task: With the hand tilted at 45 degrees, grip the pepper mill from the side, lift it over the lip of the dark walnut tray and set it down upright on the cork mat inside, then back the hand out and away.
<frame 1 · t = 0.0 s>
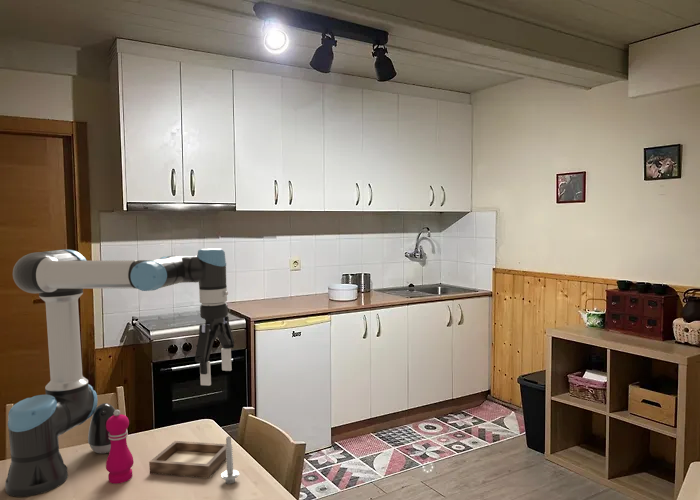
hand: (216, 377, 152), 28 cm above the table, tool pointing down, fingers open, 13 cm apart
screw: (230, 482, 149), on the table
pepper mill: (120, 479, 152), on the table
walnut tray: (191, 464, 160), on the table
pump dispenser: (106, 450, 171), on the table
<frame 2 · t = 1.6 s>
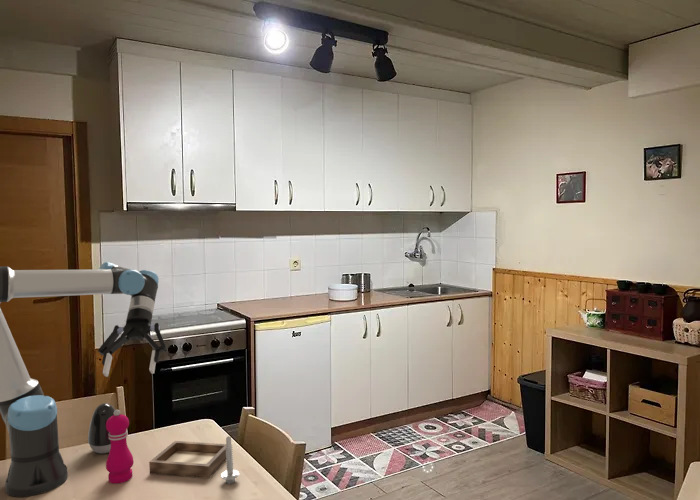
hand: (128, 373, 160), 27 cm above the table, tool tilted 45°, fingers open, 13 cm apart
nothing on the table moved.
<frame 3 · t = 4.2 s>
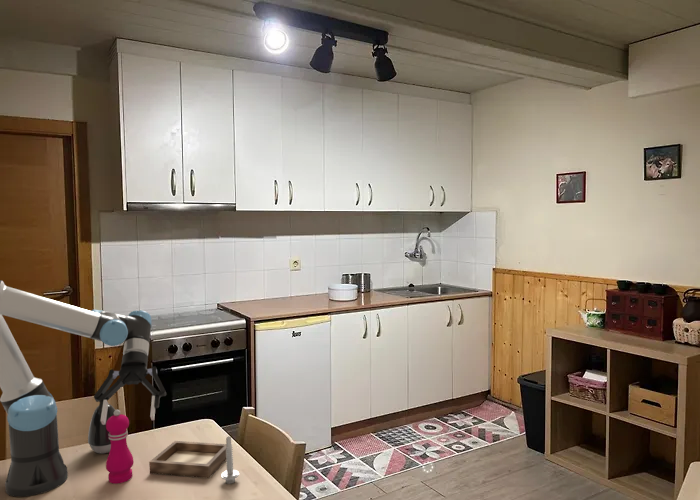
hand: (127, 420, 156), 15 cm above the table, tool tilted 45°, fingers open, 13 cm apart
nothing on the table moved.
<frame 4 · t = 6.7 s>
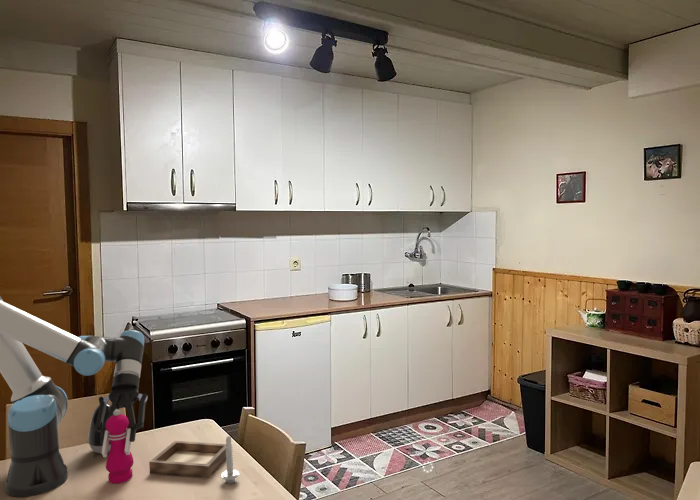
hand: (115, 453, 148), 9 cm above the table, tool tilted 45°, fingers closed on pepper mill, 5 cm apart
pepper mill: (120, 479, 152), on the table, touching gripper
everything else where it was.
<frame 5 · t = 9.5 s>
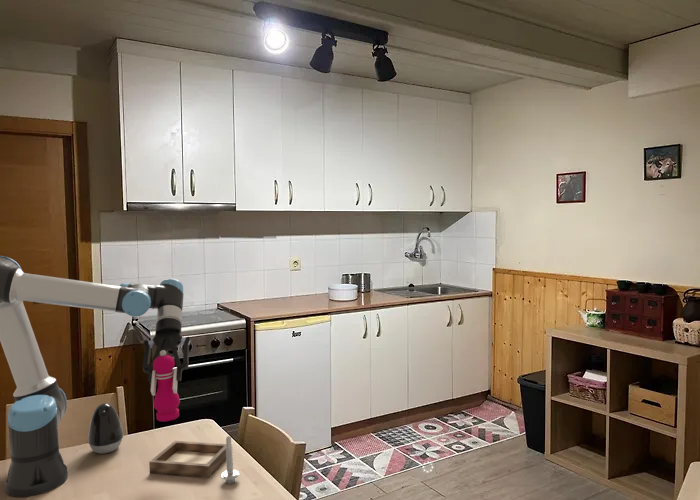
hand: (163, 392, 152), 24 cm above the table, tool tilted 45°, fingers closed on pepper mill, 5 cm apart
pepper mill: (168, 418, 156), point 15 cm above the table, touching gripper
everything else where it was.
when the fingers open (11 cm above the table, at t = 12.4 s): pepper mill drops 1 cm, resting on walnut tray.
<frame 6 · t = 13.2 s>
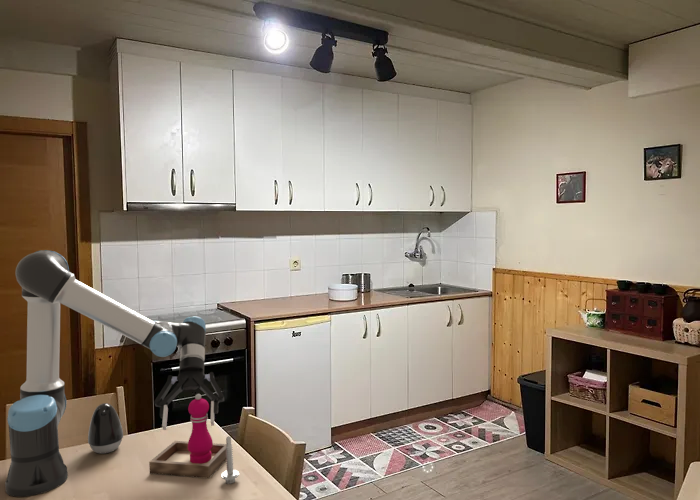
hand: (188, 425, 157), 13 cm above the table, tool tilted 45°, fingers open, 13 cm apart
pepper mill: (200, 459, 160), point 1 cm above the table, touching walnut tray
everything else where it was.
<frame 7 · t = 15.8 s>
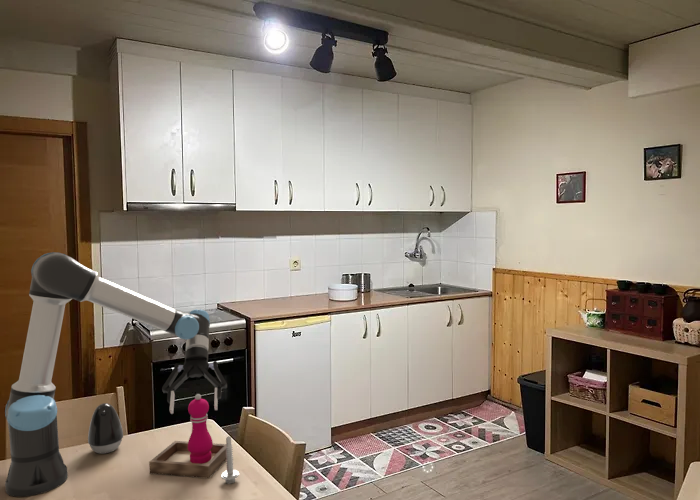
hand: (193, 410, 169), 13 cm above the table, tool tilted 45°, fingers open, 13 cm apart
nothing on the table moved.
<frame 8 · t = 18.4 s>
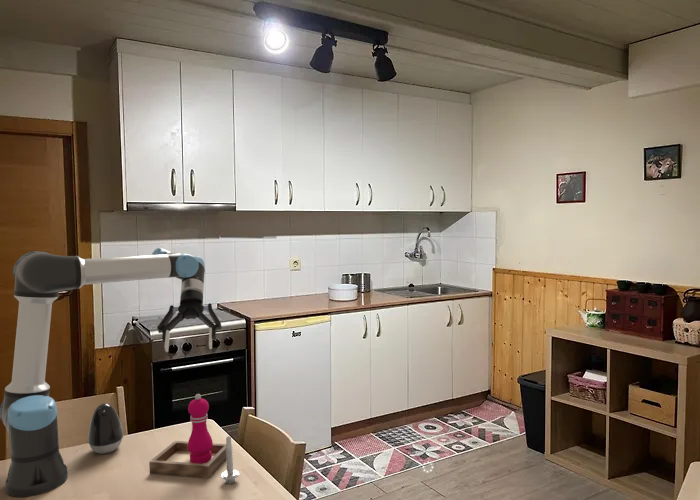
hand: (188, 348, 171), 32 cm above the table, tool tilted 45°, fingers open, 13 cm apart
nothing on the table moved.
at the end: pepper mill inside the target area on the walnut tray (2.8 cm from its centre), point 0.9 cm above the walnut tray's base; pepper mill tilted 0°; the gripper is holding nothing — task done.
